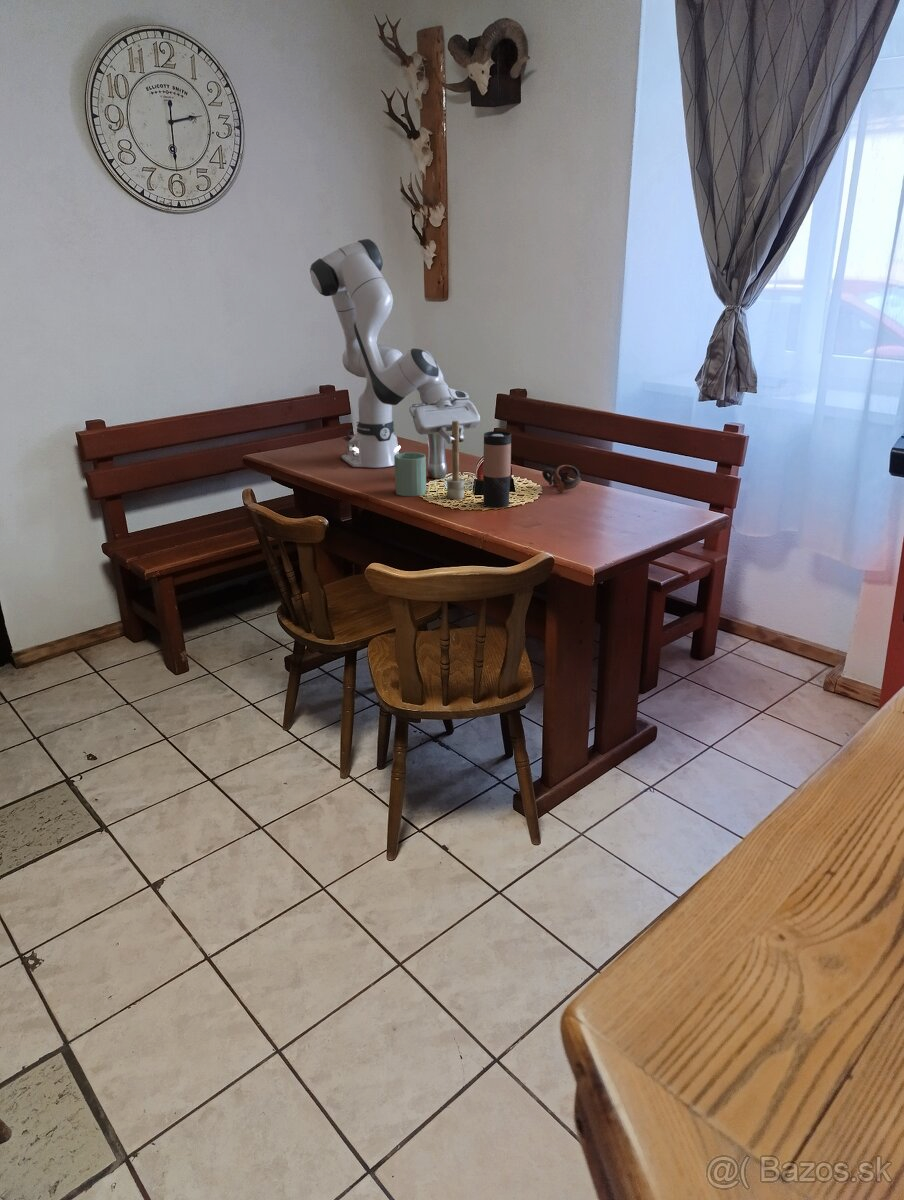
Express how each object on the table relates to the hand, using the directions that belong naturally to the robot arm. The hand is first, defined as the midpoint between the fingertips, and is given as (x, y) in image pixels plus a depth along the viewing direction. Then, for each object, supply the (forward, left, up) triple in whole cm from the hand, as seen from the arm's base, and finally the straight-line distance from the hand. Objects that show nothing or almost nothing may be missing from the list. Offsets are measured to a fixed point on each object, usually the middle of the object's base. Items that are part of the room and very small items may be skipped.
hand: (456, 441), depth 231 cm
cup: (-13, -8, -16) cm, 22 cm away
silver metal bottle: (-23, +8, -17) cm, 29 cm away
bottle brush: (-1, 0, -16) cm, 16 cm away
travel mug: (+12, +5, -17) cm, 21 cm away
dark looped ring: (+10, +31, -17) cm, 37 cm away
